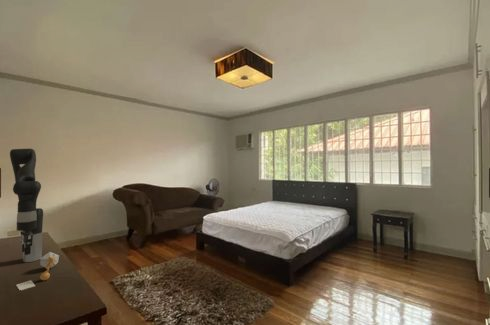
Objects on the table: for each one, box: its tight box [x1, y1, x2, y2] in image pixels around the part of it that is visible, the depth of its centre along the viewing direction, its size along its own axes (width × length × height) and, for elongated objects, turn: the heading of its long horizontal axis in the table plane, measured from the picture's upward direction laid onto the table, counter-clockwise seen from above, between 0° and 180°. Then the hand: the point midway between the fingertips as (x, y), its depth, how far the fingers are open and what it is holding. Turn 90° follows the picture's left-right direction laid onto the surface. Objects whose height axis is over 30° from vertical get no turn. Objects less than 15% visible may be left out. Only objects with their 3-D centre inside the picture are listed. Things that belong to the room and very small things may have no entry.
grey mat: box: [15, 280, 36, 291], centre depth 121 cm, size 9×6×1 cm, turn 52°
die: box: [39, 251, 60, 270], centre depth 141 cm, size 8×9×10 cm
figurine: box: [39, 256, 55, 281], centre depth 128 cm, size 8×6×12 cm
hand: (26, 252), depth 121 cm, fingers open, 5 cm apart
